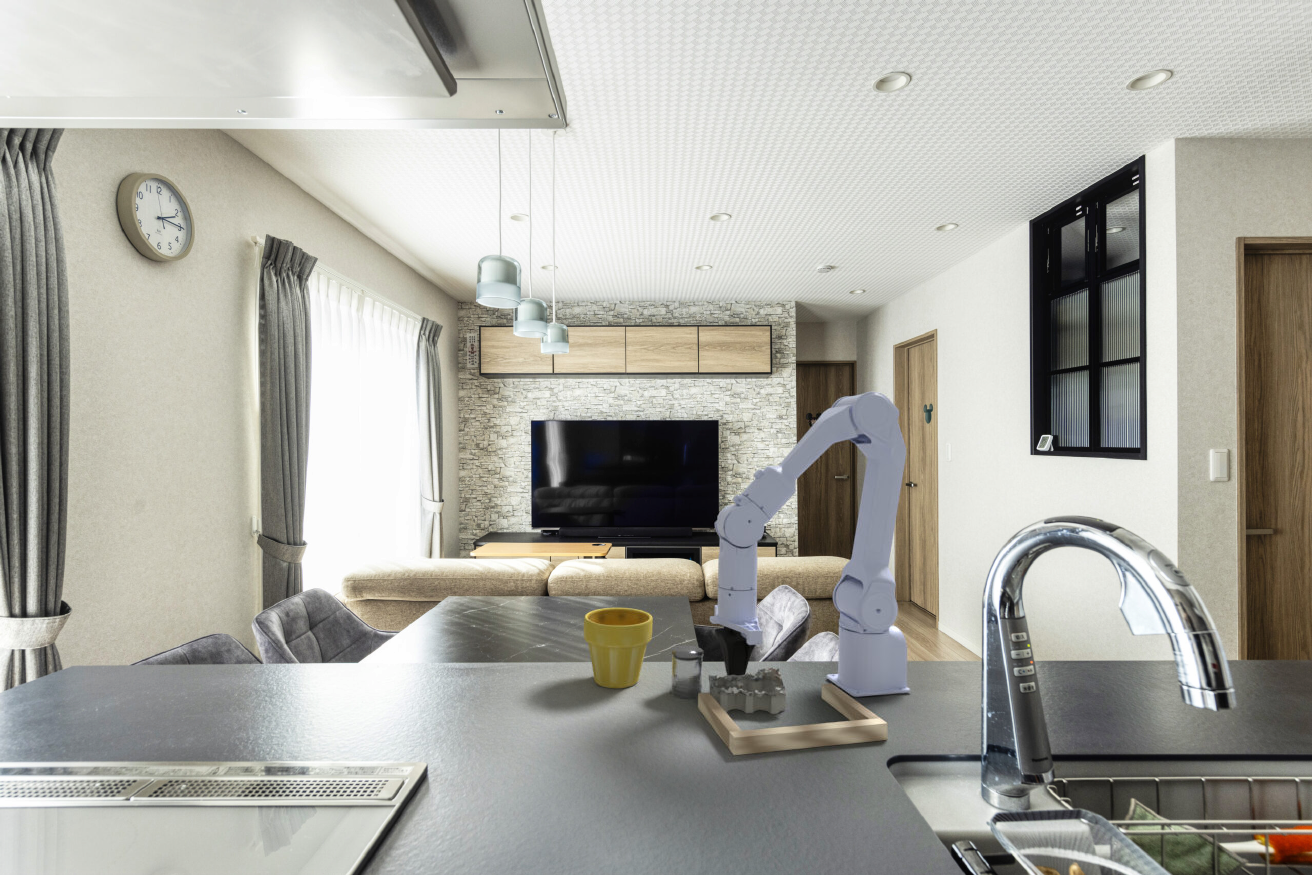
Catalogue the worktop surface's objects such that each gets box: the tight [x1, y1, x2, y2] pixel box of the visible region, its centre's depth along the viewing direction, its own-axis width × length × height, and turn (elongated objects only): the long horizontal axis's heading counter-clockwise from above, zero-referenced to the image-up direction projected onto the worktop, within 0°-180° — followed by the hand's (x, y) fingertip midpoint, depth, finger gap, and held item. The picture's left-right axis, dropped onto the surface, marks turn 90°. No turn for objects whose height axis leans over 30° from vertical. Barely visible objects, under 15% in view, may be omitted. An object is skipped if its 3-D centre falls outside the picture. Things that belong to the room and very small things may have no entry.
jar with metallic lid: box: [670, 645, 704, 700], centre depth 91 cm, size 5×5×6 cm
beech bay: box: [697, 682, 889, 756], centre depth 81 cm, size 20×14×2 cm
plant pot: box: [583, 607, 654, 689], centre depth 95 cm, size 10×10×10 cm
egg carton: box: [708, 667, 788, 715], centre depth 87 cm, size 11×8×4 cm
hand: (735, 679), depth 92 cm, fingers closed
